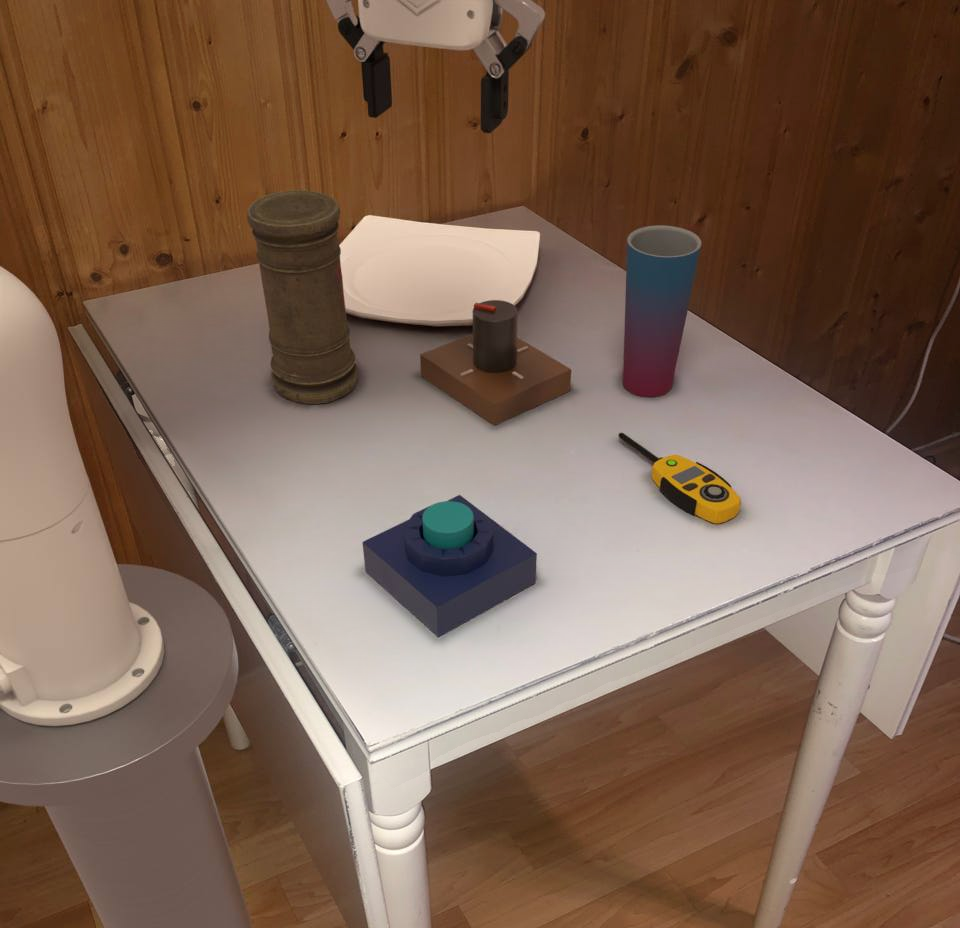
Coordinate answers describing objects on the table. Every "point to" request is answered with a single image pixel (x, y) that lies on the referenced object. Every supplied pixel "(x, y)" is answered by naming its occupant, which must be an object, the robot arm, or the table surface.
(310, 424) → the table surface
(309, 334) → the container
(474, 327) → the dial
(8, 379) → the robot arm
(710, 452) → the table surface
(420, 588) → the teal button cap base
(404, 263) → the plate
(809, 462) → the table surface
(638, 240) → the cup
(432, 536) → the teal button cap
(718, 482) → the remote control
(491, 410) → the console
